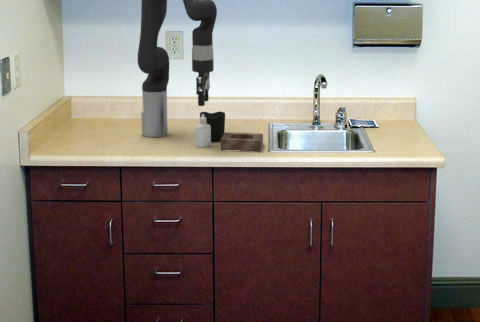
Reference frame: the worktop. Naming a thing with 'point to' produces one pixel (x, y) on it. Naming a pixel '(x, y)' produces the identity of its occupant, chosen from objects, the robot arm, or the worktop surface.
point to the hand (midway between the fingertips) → (203, 103)
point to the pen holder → (215, 124)
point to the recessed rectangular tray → (242, 141)
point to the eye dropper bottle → (203, 134)
